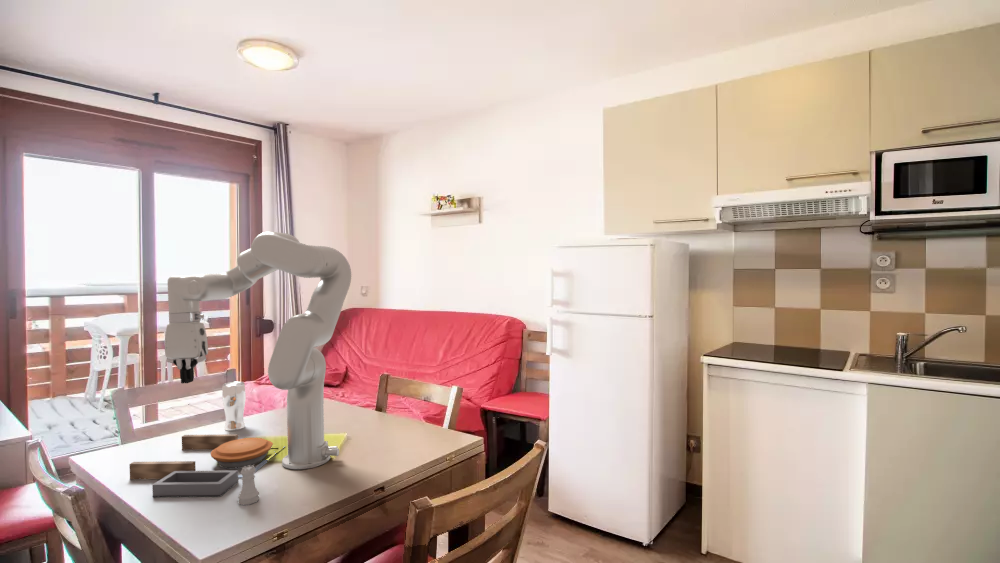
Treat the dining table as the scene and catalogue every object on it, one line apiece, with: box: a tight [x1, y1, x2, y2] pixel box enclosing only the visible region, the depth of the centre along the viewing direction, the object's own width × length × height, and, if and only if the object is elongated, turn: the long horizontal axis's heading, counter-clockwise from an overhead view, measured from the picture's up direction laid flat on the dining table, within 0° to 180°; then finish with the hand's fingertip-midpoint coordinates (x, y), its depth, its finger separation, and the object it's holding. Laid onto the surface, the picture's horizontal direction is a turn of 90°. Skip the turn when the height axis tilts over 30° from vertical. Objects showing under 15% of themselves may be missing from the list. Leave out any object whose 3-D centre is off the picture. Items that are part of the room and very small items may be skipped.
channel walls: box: [129, 433, 239, 480], centre depth 140 cm, size 16×22×4 cm
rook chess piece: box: [237, 465, 260, 506], centre depth 116 cm, size 4×4×8 cm
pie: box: [210, 437, 274, 470], centre depth 141 cm, size 15×16×5 cm
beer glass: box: [221, 381, 247, 432], centre depth 170 cm, size 7×7×15 cm
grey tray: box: [151, 469, 239, 498], centre depth 123 cm, size 16×8×3 cm, turn 90°
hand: (187, 382), depth 145 cm, fingers closed
